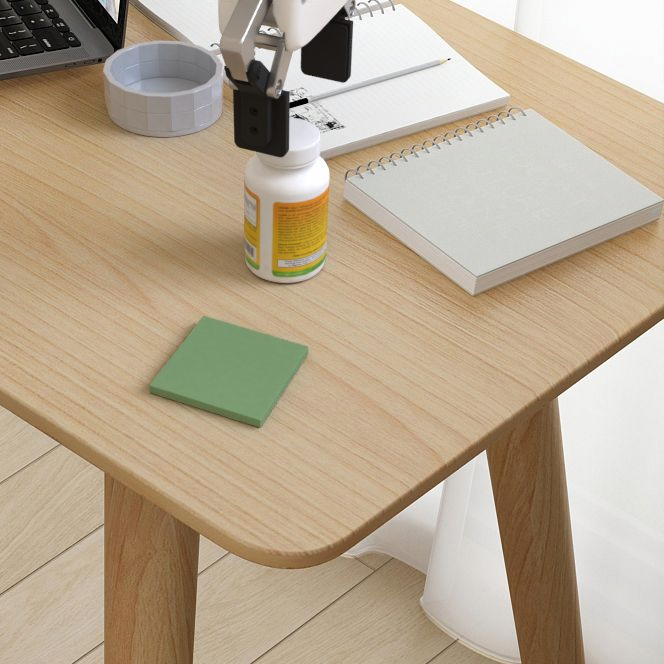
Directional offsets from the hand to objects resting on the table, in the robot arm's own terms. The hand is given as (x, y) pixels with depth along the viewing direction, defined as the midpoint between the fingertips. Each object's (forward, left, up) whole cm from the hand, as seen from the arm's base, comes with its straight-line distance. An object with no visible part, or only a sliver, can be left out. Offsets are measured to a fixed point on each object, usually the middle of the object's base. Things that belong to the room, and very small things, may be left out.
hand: (295, 111), depth 72 cm
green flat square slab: (+1, -12, -11) cm, 16 cm away
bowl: (-17, +14, -11) cm, 25 cm away
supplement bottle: (0, 0, -11) cm, 11 cm away
